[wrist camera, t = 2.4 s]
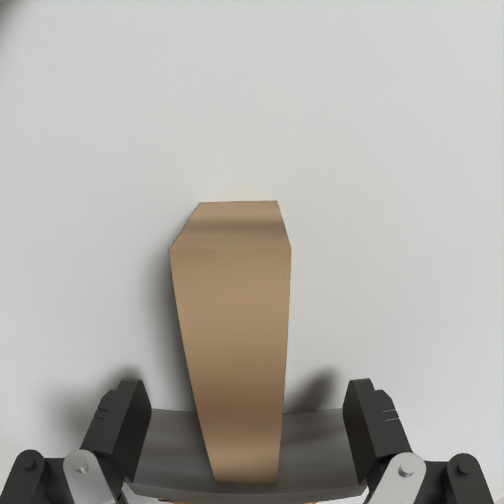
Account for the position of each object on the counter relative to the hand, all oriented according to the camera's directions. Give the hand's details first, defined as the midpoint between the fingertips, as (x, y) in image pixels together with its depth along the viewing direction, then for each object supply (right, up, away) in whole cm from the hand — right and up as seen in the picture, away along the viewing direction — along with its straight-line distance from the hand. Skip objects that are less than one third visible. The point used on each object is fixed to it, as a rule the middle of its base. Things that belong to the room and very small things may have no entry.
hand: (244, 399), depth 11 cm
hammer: (0, +2, +1) cm, 3 cm away
